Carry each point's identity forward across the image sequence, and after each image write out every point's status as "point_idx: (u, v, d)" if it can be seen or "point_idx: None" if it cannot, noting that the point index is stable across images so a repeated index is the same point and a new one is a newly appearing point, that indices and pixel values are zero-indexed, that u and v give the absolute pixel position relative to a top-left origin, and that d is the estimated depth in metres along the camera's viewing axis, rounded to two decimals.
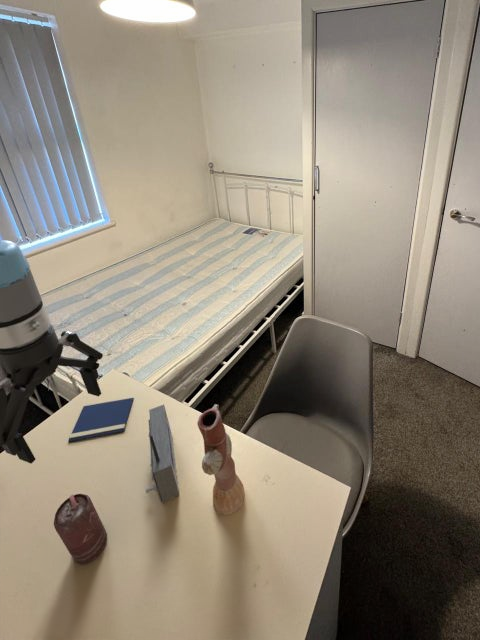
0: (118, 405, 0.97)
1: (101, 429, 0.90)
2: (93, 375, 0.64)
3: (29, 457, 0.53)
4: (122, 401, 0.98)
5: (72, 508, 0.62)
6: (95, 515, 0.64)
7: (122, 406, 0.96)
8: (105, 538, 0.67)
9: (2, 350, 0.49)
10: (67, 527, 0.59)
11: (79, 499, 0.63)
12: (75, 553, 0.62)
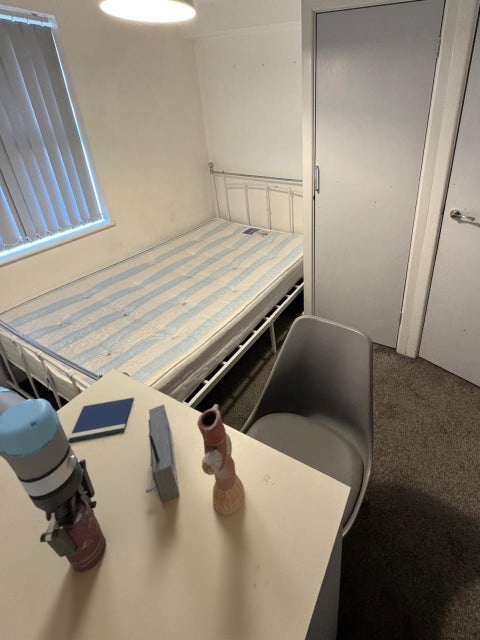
0: (118, 405, 0.97)
1: (101, 429, 0.90)
2: None
3: None
4: (122, 401, 0.98)
5: None
6: (94, 520, 0.63)
7: (122, 406, 0.96)
8: (104, 543, 0.66)
9: (44, 495, 0.54)
10: None
11: (77, 505, 0.62)
12: (75, 560, 0.61)
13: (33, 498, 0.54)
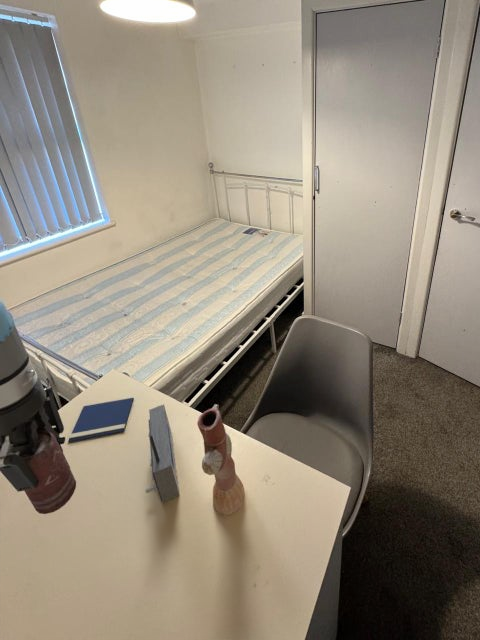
0: (118, 405, 0.97)
1: (101, 429, 0.90)
2: None
3: None
4: (122, 401, 0.98)
5: None
6: (61, 455, 0.55)
7: (122, 406, 0.96)
8: (74, 485, 0.58)
9: None
10: None
11: (41, 436, 0.54)
12: (37, 499, 0.53)
13: None
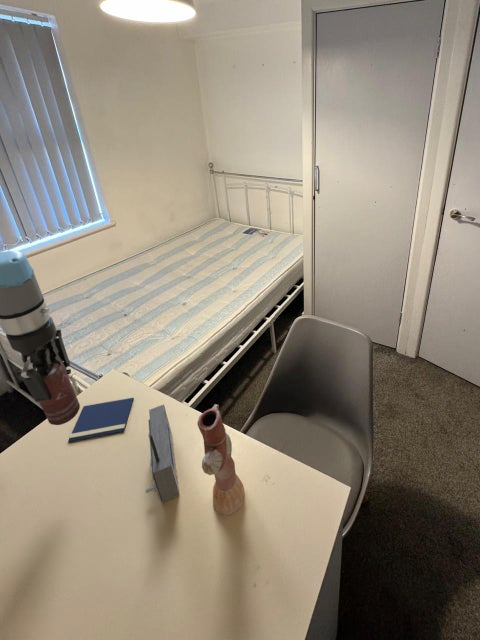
0: (118, 405, 0.97)
1: (101, 429, 0.90)
2: None
3: None
4: (122, 401, 0.98)
5: None
6: (68, 379, 0.71)
7: (122, 406, 0.96)
8: (78, 406, 0.74)
9: (20, 336, 0.62)
10: None
11: (52, 364, 0.70)
12: (50, 411, 0.69)
13: (10, 338, 0.62)
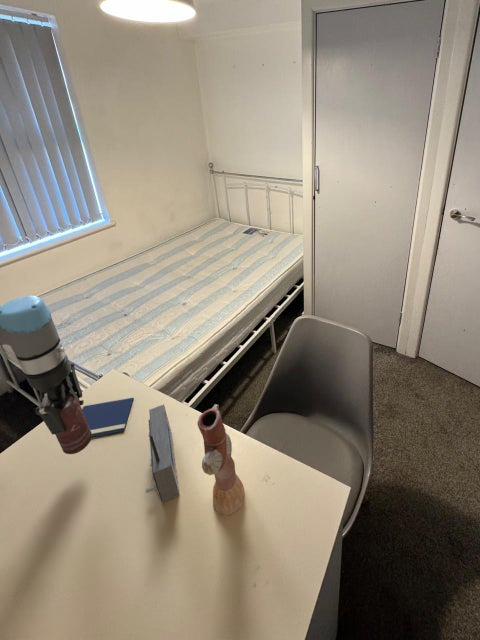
0: (118, 405, 0.97)
1: (101, 429, 0.90)
2: None
3: None
4: (122, 401, 0.98)
5: None
6: (81, 411, 0.76)
7: (122, 406, 0.96)
8: (90, 435, 0.79)
9: (38, 375, 0.66)
10: None
11: (67, 397, 0.75)
12: (65, 442, 0.74)
13: (29, 377, 0.66)
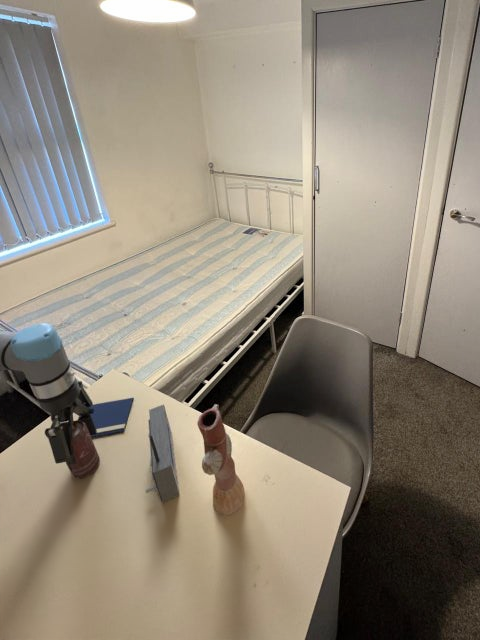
0: (118, 405, 0.97)
1: (101, 429, 0.90)
2: (91, 418, 0.84)
3: None
4: (122, 401, 0.98)
5: None
6: (89, 437, 0.79)
7: (122, 406, 0.96)
8: (98, 459, 0.82)
9: (50, 399, 0.69)
10: None
11: (76, 424, 0.78)
12: (74, 467, 0.77)
13: (41, 401, 0.69)
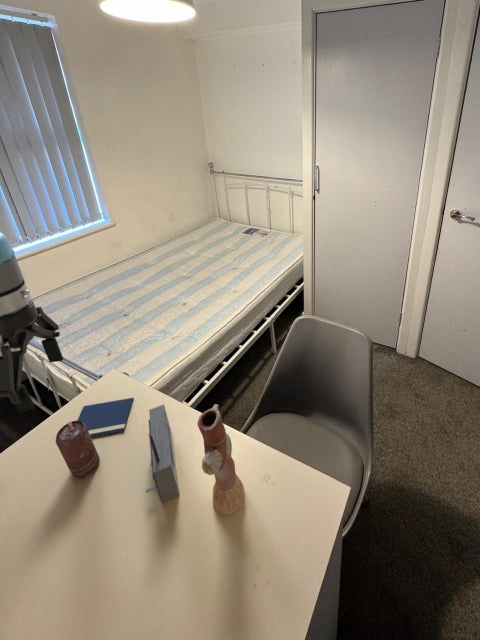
0: (118, 405, 0.97)
1: (101, 429, 0.90)
2: (56, 342, 0.77)
3: (31, 403, 0.67)
4: (122, 401, 0.98)
5: (70, 430, 0.76)
6: (89, 437, 0.79)
7: (122, 406, 0.96)
8: (98, 459, 0.82)
9: None
10: (67, 442, 0.73)
11: (76, 424, 0.78)
12: (74, 467, 0.77)
13: None
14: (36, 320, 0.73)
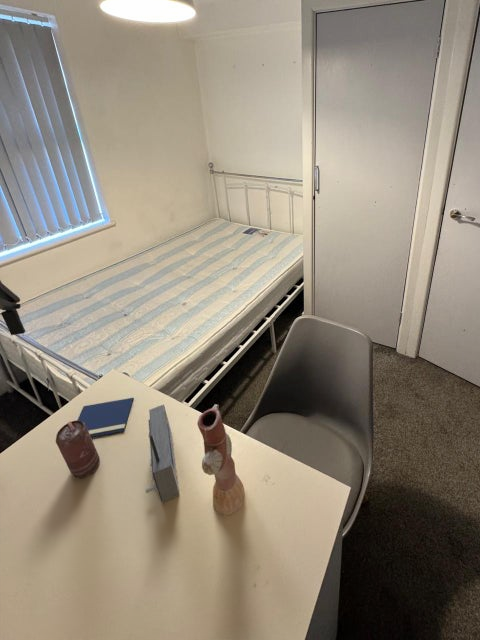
0: (118, 405, 0.97)
1: (101, 429, 0.90)
2: (17, 314, 0.77)
3: None
4: (122, 401, 0.98)
5: (70, 430, 0.76)
6: (89, 437, 0.79)
7: (122, 406, 0.96)
8: (98, 459, 0.82)
9: None
10: (67, 442, 0.74)
11: (76, 424, 0.78)
12: (74, 467, 0.77)
13: None
14: None
